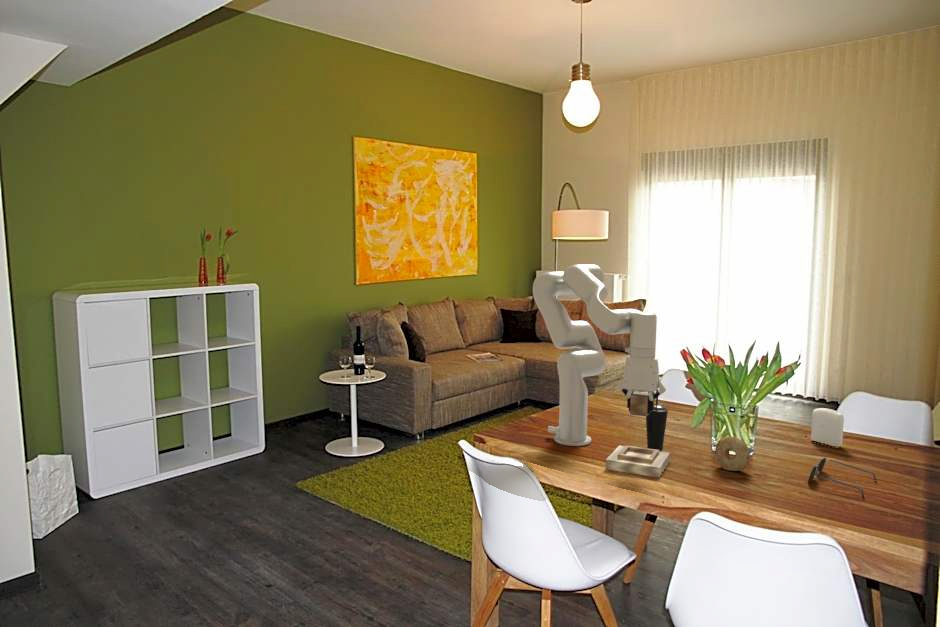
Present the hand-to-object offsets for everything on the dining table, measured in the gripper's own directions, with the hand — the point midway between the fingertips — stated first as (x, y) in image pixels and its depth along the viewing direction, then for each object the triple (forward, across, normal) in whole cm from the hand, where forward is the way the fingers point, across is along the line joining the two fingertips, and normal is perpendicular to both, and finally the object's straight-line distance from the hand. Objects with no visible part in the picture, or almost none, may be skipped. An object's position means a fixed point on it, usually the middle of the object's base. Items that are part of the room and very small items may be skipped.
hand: (640, 411), depth 210 cm
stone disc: (+17, +26, +9) cm, 33 cm away
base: (+17, 0, 0) cm, 17 cm away
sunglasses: (+18, +56, +12) cm, 60 cm away
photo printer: (+17, +52, +52) cm, 76 cm away
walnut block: (+1, 0, 0) cm, 1 cm away
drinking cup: (+17, +1, +20) cm, 26 cm away
